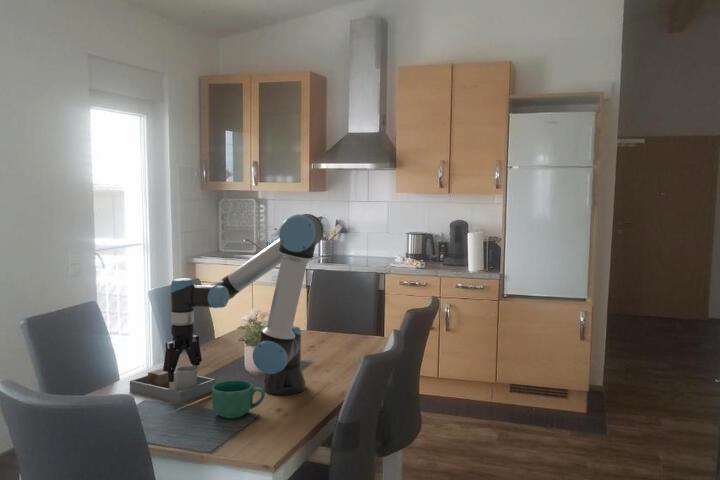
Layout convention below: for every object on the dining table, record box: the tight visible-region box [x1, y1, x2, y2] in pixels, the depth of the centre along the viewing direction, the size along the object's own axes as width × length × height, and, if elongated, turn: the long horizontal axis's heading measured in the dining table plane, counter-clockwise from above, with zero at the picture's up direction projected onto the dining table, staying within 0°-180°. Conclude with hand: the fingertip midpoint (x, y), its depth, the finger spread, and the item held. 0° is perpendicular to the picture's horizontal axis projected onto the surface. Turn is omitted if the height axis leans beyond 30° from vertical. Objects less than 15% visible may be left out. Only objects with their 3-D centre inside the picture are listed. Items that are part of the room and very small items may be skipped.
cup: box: [175, 365, 198, 391], centre depth 216 cm, size 7×10×9 cm
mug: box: [211, 379, 266, 419], centre depth 198 cm, size 17×13×10 cm
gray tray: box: [129, 374, 216, 405], centre depth 219 cm, size 24×17×4 cm
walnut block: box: [147, 368, 169, 389], centre depth 222 cm, size 6×6×6 cm
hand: (183, 386), depth 217 cm, fingers open, 9 cm apart
